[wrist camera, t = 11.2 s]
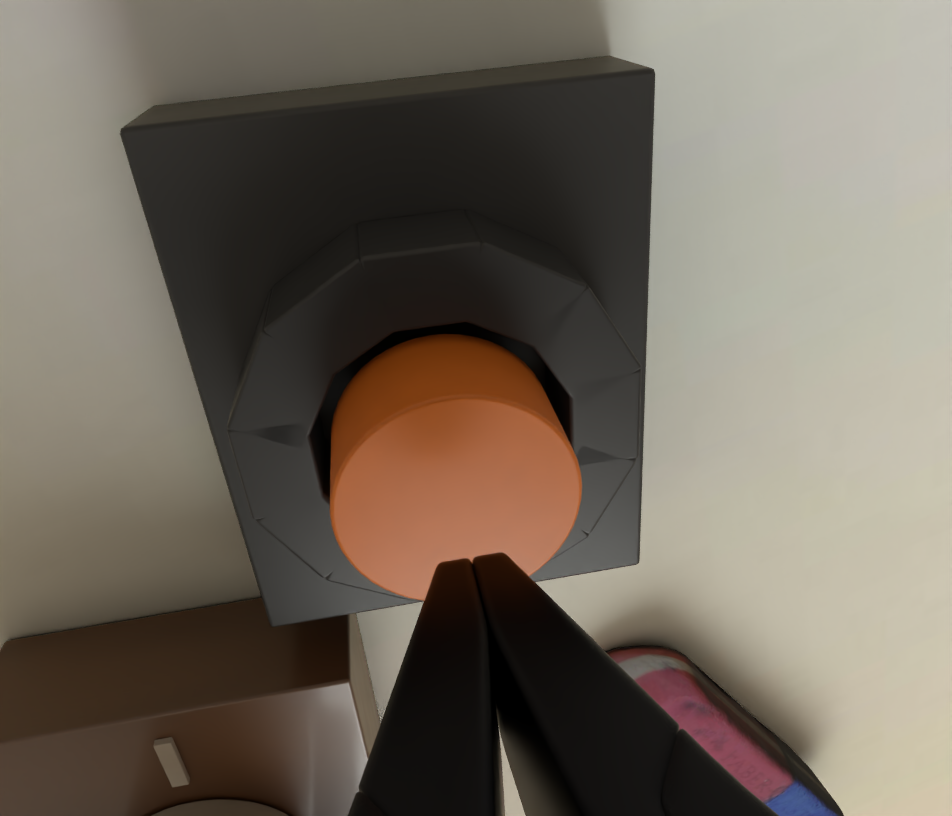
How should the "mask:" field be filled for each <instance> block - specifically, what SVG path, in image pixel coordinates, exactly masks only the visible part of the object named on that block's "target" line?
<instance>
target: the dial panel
mask: <svg viewBox="0 0 952 816" xmlns="http://www.w3.org/2000/svg"><path fill="white" fill-rule="evenodd" d="M379 727H380V719H379V715H378V710H377V706H376V701H375V697H374V692H373V688H372V683H371V679H370V675H369V670H368V666H367V661H366V657H365V652H364V648H363V643H362V639H361V634H360V630H359V625H358V621H357V617H356V613H353V614H348V615H342V616H336V617H330V618H325V619H319V620H313V621H307V622H302V623H296V624H290V625H284V626H278V627H272V626H271V625H270V623H269V620H268V617H267V613H266V610H265V607H264V604H263V600H262V598H256V599H251V600H245V601H239V602H233V603H227V604H221V605H215V606H209V607H203V608H197V609H192V610H186V611H180V612H174V613H168V614H162V615H156V616H150V617H144V618H138V619H133V620H127V621H121V622H115V623H109V624H103V625H97V626H91V627H85V628H79V629H74V630H68V631H62V632H56V633H50V634H44V635H38V636H32V637H26V638H20V639H15V640H9V641H6V642H5V643H4V644H3V646H2V648H1V650H0V816H152V815H153V814H156V813H158V812H160V811H162V810H165V809H168V808H171V807H174V806H177V805H181V804H185V803H189V802H195V801H202V800H214V799H232V800H243V801H249V802H255V803H259V804H263V805H266V806H269V807H272V808H275V809H277V810H279V811H281V812H283V813H285V814H287V815H288V816H348V814H349V811H350V808H351V805H352V802H353V800H354V797H355V794H356V793H357V792H359V784H360V781H361V778H362V775H363V772H364V770H365V767H366V764H367V761H368V758H369V755H370V753H371V750H372V747H373V744H374V741H375V739H376V736H377V733H378V730H379Z"/></svg>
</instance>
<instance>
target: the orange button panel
mask: <svg viewBox="0 0 952 816" xmlns="http://www.w3.org/2000/svg"><path fill="white" fill-rule="evenodd" d="M654 94H655V72H654V69H652V68H649V67H645V66H642V65H639V64H635V63H632V62H629V61H625V60H622V59H619V58H615V57H612V56H603V57H593V58H584V59H575V60H566V61H557V62H548V63H539V64H530V65H521V66H511V67H502V68H493V69H484V70H475V71H466V72H457V73H448V74H439V75H430V76H420V77H411V78H402V79H393V80H384V81H375V82H366V83H357V84H348V85H339V86H329V87H320V88H311V89H302V90H293V91H284V92H275V93H266V94H257V95H247V96H238V97H229V98H220V99H211V100H202V101H193V102H184V103H175V104H166V105H156V106H153V107H151V108H150V109H148V110H147V111H146V112H144V113H143V114H141V115H140V116H138V117H137V118H136V119H134V120H133V121H131V122H130V123H128V124H127V125H126V126H124V127H123V128H121V131H120V135H121V139H122V142H123V145H124V148H125V152H126V155H127V158H128V161H129V165H130V168H131V171H132V175H133V178H134V181H135V184H136V188H137V191H138V194H139V197H140V201H141V204H142V207H143V211H144V214H145V217H146V220H147V224H148V227H149V230H150V233H151V237H152V240H153V243H154V247H155V250H156V253H157V256H158V260H159V263H160V266H161V270H162V273H163V276H164V279H165V283H166V286H167V289H168V292H169V296H170V299H171V302H172V306H173V309H174V312H175V315H176V319H177V322H178V325H179V328H180V332H181V335H182V338H183V342H184V345H185V348H186V351H187V355H188V358H189V361H190V365H191V368H192V371H193V374H194V378H195V381H196V384H197V387H198V391H199V394H200V397H201V401H202V404H203V407H204V410H205V414H206V417H207V420H208V423H209V427H210V430H211V433H212V437H213V440H214V443H215V446H216V450H217V453H218V456H219V459H220V463H221V466H222V469H223V473H224V476H225V479H226V482H227V486H228V489H229V492H230V496H231V499H232V502H233V505H234V509H235V512H236V515H237V518H238V522H239V525H240V528H241V532H242V535H243V538H244V541H245V545H246V548H247V551H248V554H249V558H250V561H251V564H252V568H253V571H254V574H255V577H256V581H257V584H258V587H259V590H260V594H261V597H262V600H263V604H264V607H265V610H266V613H267V617H268V620H269V623H270V625H271V626H272V627H278V626H284V625H290V624H296V623H302V622H307V621H313V620H319V619H325V618H330V617H336V616H342V615H348V614H353V613H359V612H365V611H371V610H377V609H382V608H388V607H394V606H400V605H405V604H411V603H417V602H423V600H417V599H412V598H408V597H404V596H401V595H398V594H395V593H393V592H390V591H388V590H386V589H383V588H382V587H380V586H378V585H376V584H375V583H373V582H371V581H370V580H369V579H367V578H366V577H365V576H364V575H362V574H361V573H360V572H359V571H358V570H357V569H356V568H355V567H354V566H353V565H352V564H351V563H350V562H349V560H348V559H347V557H346V556H345V555H344V553H343V552H342V550H341V548H340V546H339V544H338V542H337V541H336V538H335V535H334V532H333V529H332V525H331V518H330V469H331V426H332V421H333V415H334V412H335V409H336V406H337V403H338V401H339V399H340V397H341V395H342V393H343V391H344V389H345V388H346V386H347V385H348V383H349V382H350V381H351V379H352V378H353V377H354V376H355V375H356V374H357V372H358V371H359V370H360V369H361V368H362V367H363V366H365V365H366V364H367V363H368V362H369V361H371V360H372V359H373V358H374V357H376V356H378V355H379V354H381V353H382V352H384V351H385V350H387V349H389V348H391V347H393V346H395V345H398V344H400V343H402V342H405V341H408V340H411V339H414V338H419V337H423V336H428V335H438V334H461V335H467V336H473V337H478V338H481V339H484V340H488V341H491V342H493V343H495V344H497V345H500V346H502V347H504V348H505V349H507V350H509V351H510V352H512V353H513V354H515V355H516V356H517V357H519V358H520V359H521V360H522V361H523V362H525V363H526V365H527V366H528V367H529V368H530V369H531V370H532V371H533V372H534V374H535V375H536V377H537V378H538V380H539V382H540V383H541V385H542V387H543V389H544V391H545V393H546V395H547V397H548V399H549V401H550V403H551V405H552V407H553V409H554V411H555V413H556V416H557V418H558V420H559V422H560V424H561V426H562V428H563V430H564V432H565V434H566V436H567V438H568V440H569V442H570V444H571V446H572V448H573V450H574V453H575V455H576V457H577V459H578V463H579V467H580V471H581V479H582V495H581V502H580V507H579V511H578V515H577V518H576V520H575V523H574V526H573V528H572V530H571V531H570V533H569V535H568V537H567V539H566V540H565V542H564V543H563V544H562V546H561V547H560V549H559V550H558V551H557V552H556V553H555V554H554V555H553V557H552V558H551V559H550V560H549V561H548V562H547V563H545V564H544V565H543V566H542V567H541V568H540V569H539V570H537V571H536V572H534V573H533V574H532V575H530V576H529V577H530V578H531V579H532V580H533V581H534V582H538V581H544V580H550V579H556V578H561V577H567V576H573V575H579V574H584V573H590V572H596V571H602V570H608V569H613V568H619V567H625V566H631V565H636V564H638V563H639V558H640V527H641V496H642V465H643V434H644V403H645V372H646V341H647V310H648V279H649V249H650V218H651V187H652V156H653V125H654Z"/></svg>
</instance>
